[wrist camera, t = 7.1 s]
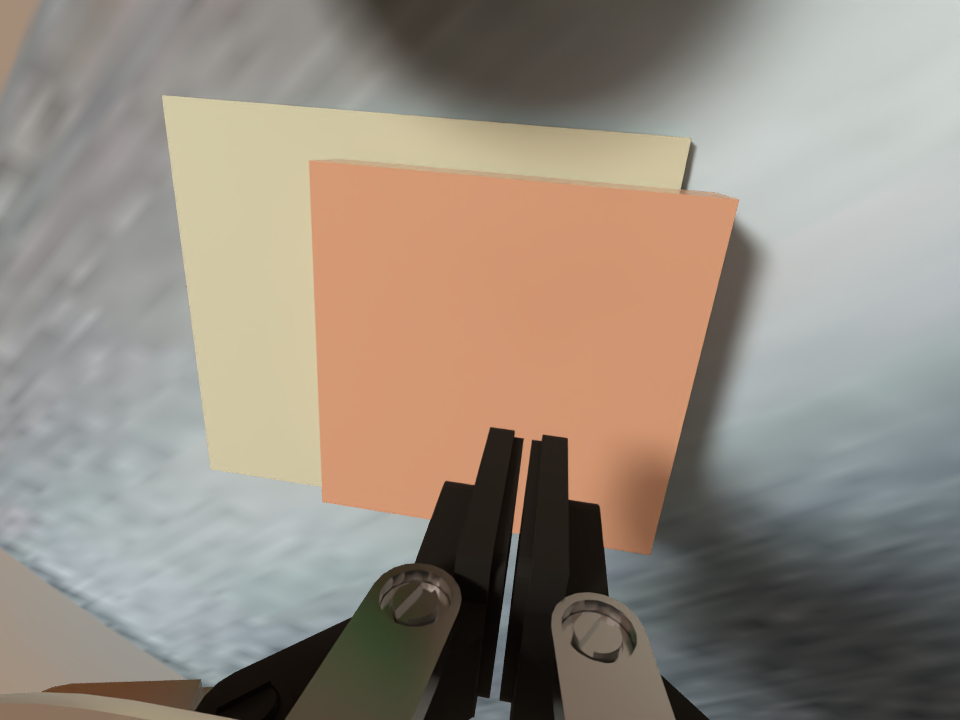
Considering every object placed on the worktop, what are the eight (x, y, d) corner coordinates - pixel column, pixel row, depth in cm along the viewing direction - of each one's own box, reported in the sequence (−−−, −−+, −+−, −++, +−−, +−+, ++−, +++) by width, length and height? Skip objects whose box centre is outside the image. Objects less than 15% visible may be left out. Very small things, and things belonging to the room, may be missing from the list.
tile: (739, 199, 14) (308, 160, 16) (650, 555, 19) (322, 501, 20) (712, 191, 17) (345, 158, 18) (639, 505, 21) (350, 461, 23)
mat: (688, 138, 17) (691, 138, 16) (607, 526, 22) (608, 532, 22) (169, 96, 19) (162, 95, 18) (216, 464, 24) (210, 469, 24)
